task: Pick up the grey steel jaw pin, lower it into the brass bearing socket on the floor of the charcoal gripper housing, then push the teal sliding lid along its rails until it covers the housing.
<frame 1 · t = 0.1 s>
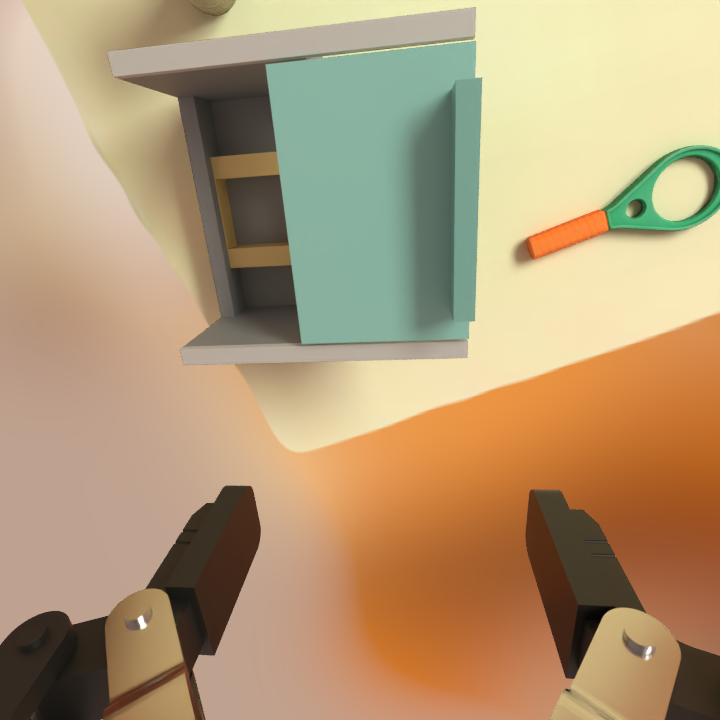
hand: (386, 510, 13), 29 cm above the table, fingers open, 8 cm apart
lid: (375, 215, 25), point 13 cm above the table, slide at 9.0 cm
magnifying glass: (620, 210, 36), on the table
housing: (282, 208, 38), on the table
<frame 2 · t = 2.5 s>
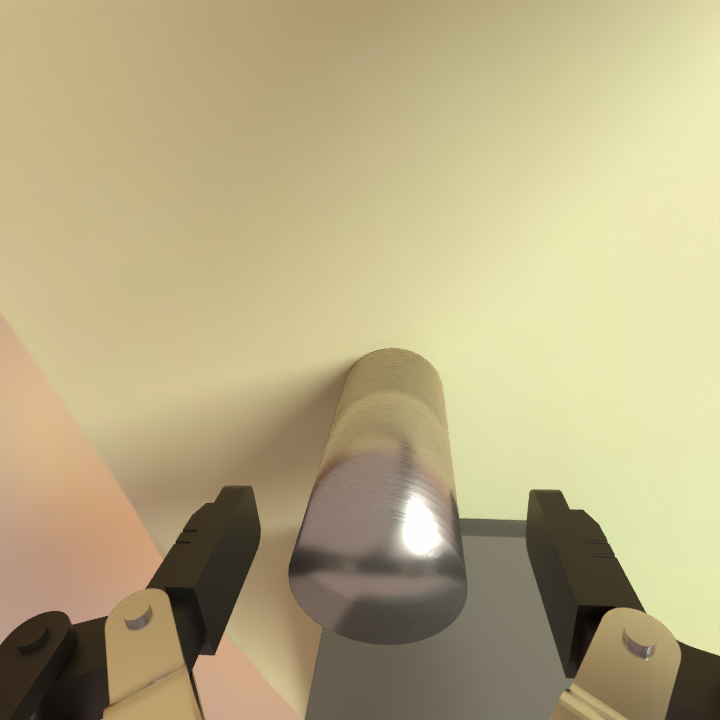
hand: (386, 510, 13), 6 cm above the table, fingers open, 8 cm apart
jaw pin: (393, 393, 18), on the table
housing: (457, 652, 24), on the table
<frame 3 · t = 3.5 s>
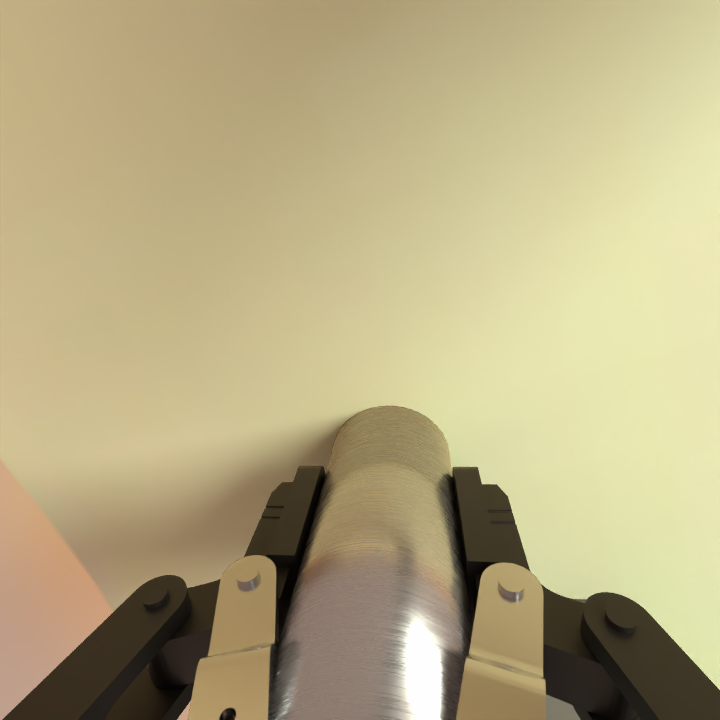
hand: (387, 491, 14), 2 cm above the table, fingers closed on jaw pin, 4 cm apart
jaw pin: (390, 456, 15), on the table, touching gripper
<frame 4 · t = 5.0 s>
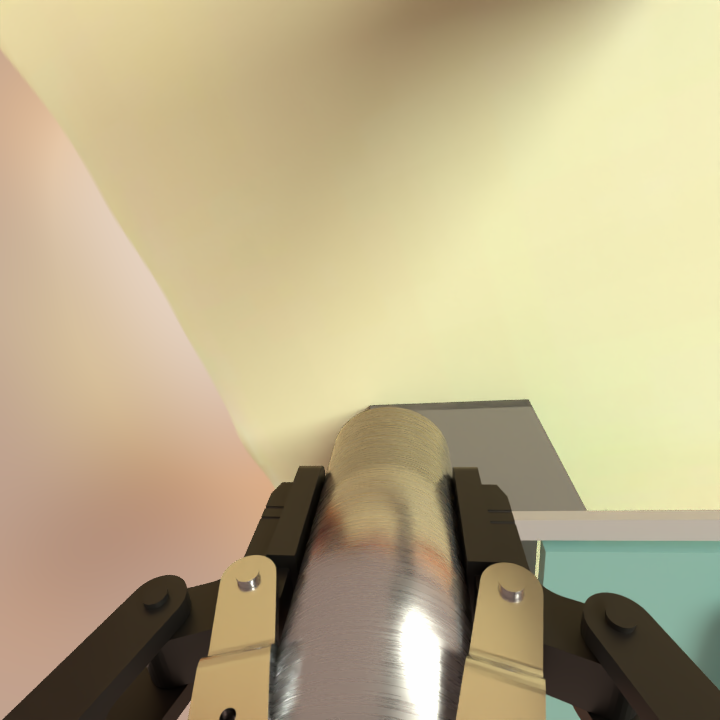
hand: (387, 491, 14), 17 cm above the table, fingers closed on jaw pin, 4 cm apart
lid: (657, 688, 22), point 13 cm above the table, slide at 9.0 cm
jaw pin: (390, 457, 15), point 15 cm above the table, touching gripper
housing: (450, 509, 35), on the table
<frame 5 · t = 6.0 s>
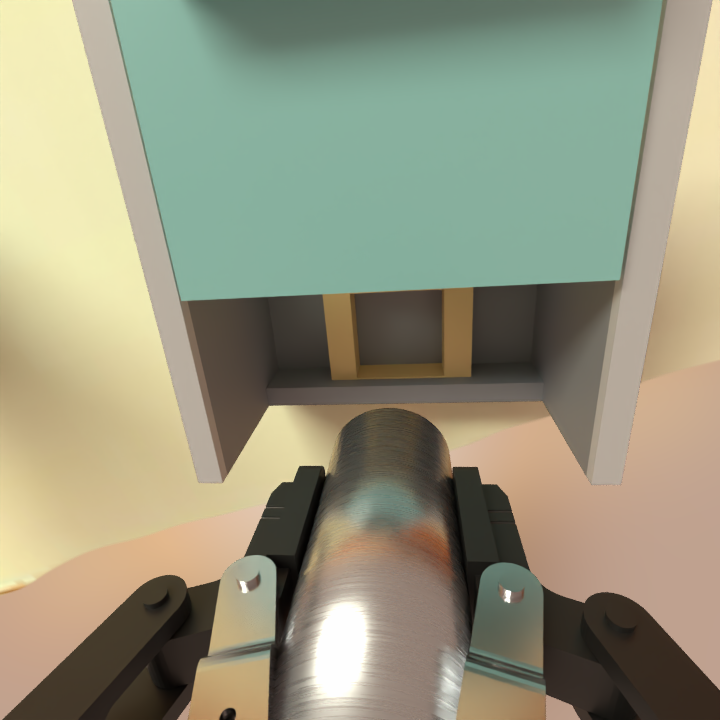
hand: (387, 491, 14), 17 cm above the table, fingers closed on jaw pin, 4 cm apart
lid: (377, 118, 13), point 13 cm above the table, slide at 9.0 cm
jaw pin: (390, 458, 15), point 15 cm above the table, touching gripper
housing: (398, 298, 29), on the table
when the fingers open (5 cm above the table, at t = 7.6 s): jaw pin drops 2 cm, resting on housing.
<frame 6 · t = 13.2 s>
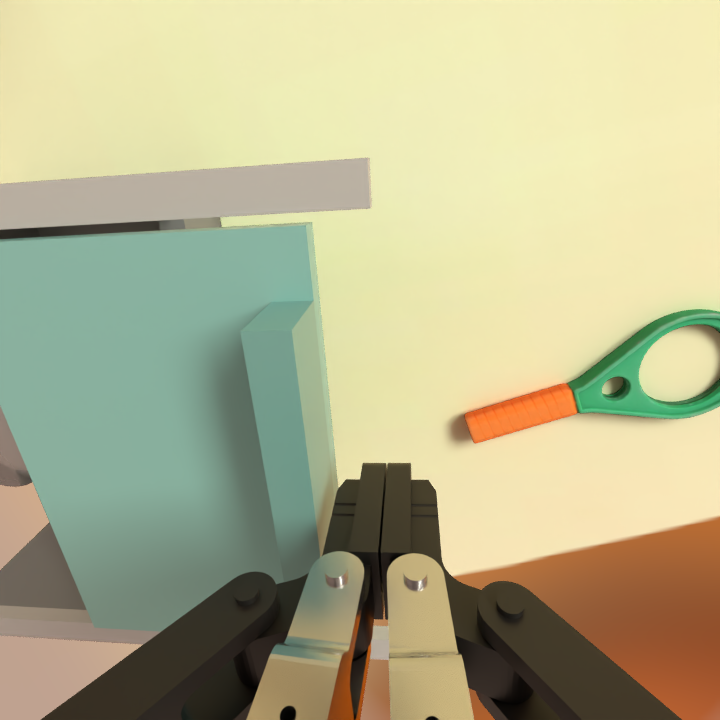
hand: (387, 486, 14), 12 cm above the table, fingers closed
lid: (161, 492, 14), point 13 cm above the table, slide at 7.3 cm, touching gripper
jaw pin: (124, 360, 26), point 1 cm above the table, touching housing
magnifying glass: (594, 381, 26), on the table
housing: (156, 350, 27), on the table
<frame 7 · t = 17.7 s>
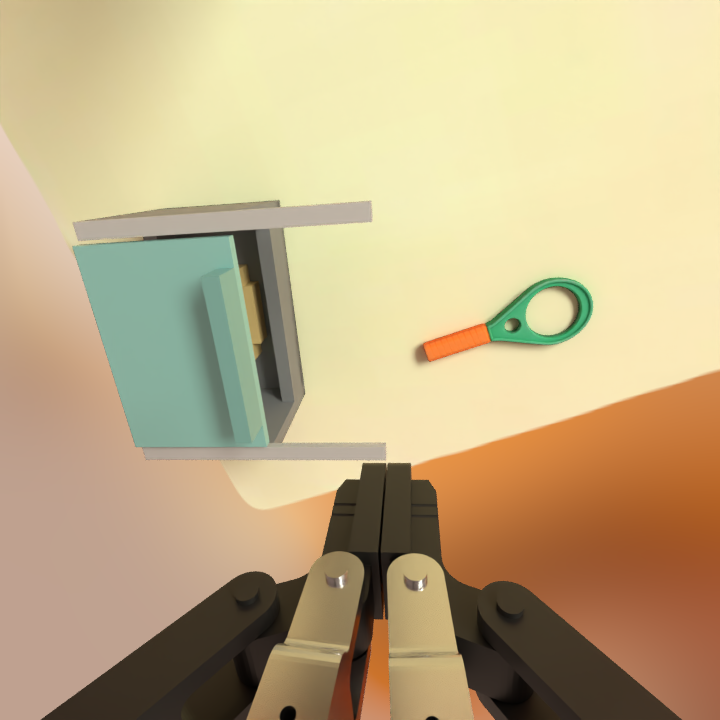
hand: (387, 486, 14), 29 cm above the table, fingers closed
lid: (170, 358, 31), point 13 cm above the table, slide at -0.2 cm
magnifying glass: (502, 323, 42), on the table
housing: (238, 307, 43), on the table
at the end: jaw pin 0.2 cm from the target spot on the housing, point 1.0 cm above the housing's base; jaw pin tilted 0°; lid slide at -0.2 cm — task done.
